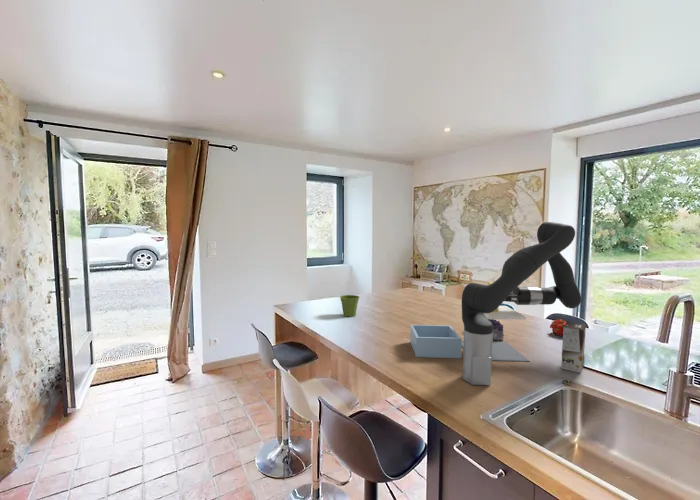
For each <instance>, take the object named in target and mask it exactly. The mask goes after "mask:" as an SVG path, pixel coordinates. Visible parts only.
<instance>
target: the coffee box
mask: <svg viewBox="0 0 700 500" xmlns="http://www.w3.org/2000/svg"><path fill="white" fill-rule="evenodd" d="M566 322H567V323H566V324H565V325H564V327H563V337H562V347H561V361H560V362H561V363H560V367H561V369H563V370H567V371H571V372H574V373H582V370H583V368H584V362H585V361H584V360H585V343H586V329H587V328H586V324H581V323H575V322H569V321H566Z"/></svg>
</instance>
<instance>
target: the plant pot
mask: <svg viewBox="0 0 700 500" xmlns="http://www.w3.org/2000/svg"><path fill="white" fill-rule="evenodd" d="M360 298H361V297H360V296H359V295H357V294H356V295H355V294H345V295H340V296H339V299H340V301H341V307H342V313H343V314H342V315H343V316H344V317H345V318H346V317H350V318H352V317H356V315H357V308H358V303H359V300H360Z"/></svg>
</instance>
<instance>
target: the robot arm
mask: <svg viewBox="0 0 700 500" xmlns="http://www.w3.org/2000/svg"><path fill="white" fill-rule="evenodd" d="M536 231H537V232H536V237H537V242H538V243H536V244H533V245H529V246H527V247H524V248H521V249H519V250H517V251H516V252H515V253H513V254H511V256H510V257H508V258H507V259H506V260H505V261H504V263H503V265H502V269H501V275H500V277H498V278H497V279H496V280H495V281H493V282H494V283H492V284H490V285H488V284H482V283H477V282H470V283H468V284H467V285H466V286H465V287H464V288H463V291H462V295H461V320H462V324H463V341H464V347H463V348H462V349H463V350H462V351H463V352H462V355H463V356H462V379H463V381H465V382H467V383H469V384H471V385H473V386H491V382H492V364H493V363H492V362H493V361H492V342H493V340H492V339H493V325H492V323H491V322H490V321H489V320H488V319H487V318H486V317H485V315H484V313H491V312H493V311H494V310H496V309H497V308H498V307H499V306H502V304H503V303H504V302H509V303H514V304H515V305H517V306H536V305H548V306H549V305H554V304H555V303H556V300H559V301H560V303H561V304H562V305H563V306H564V307H566V308H567V309H575V308H578V307H579V306H580V304H581V302H582V295H581V293H580V289H579V288H578V285H577V284H576V280H575V276H574V275H575V274H574V271H573V267H572V266H571V264H570V263H569V262H568V261H567V259H566V258H565V257H564V255H563V254H561V252H562V251H564V250H565V249H567V248H568V247H569V246H570V245H571V244H572V243H573V241H574V240H575V238H576V237H575V236H576V230H575V228H574V227H573V226H572V225H571V224H568V223H562V222H555V221H545V222H542V223H541V224H540V225H539V227H538V228H537V230H536ZM547 262H548V265H549V266H550V270H551V273H552V277H553V281H554V284H555V285H553V286H550V287H535V286H520V285H521V284H523V283H524V281H526V280H527V279H528V278H530V277H531V276H532V275H533V274H535V273H536V272H537V270H539V269H540V268H541V267H542V266H544V265H545V264H546V263H547Z"/></svg>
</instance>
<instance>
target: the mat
mask: <svg viewBox="0 0 700 500" xmlns="http://www.w3.org/2000/svg"><path fill="white" fill-rule="evenodd" d="M463 347H464V340H462V345H461V349H463ZM492 362H517V363H518V362H524V363H529V362H530V360H529V359H528V358H526V357H525V356H524V355H523V354H522V353H521V352H519V350H517V349H516V348H515V347H513V346H512V345H511V344H509V343H508V342H507V341H492Z"/></svg>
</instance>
